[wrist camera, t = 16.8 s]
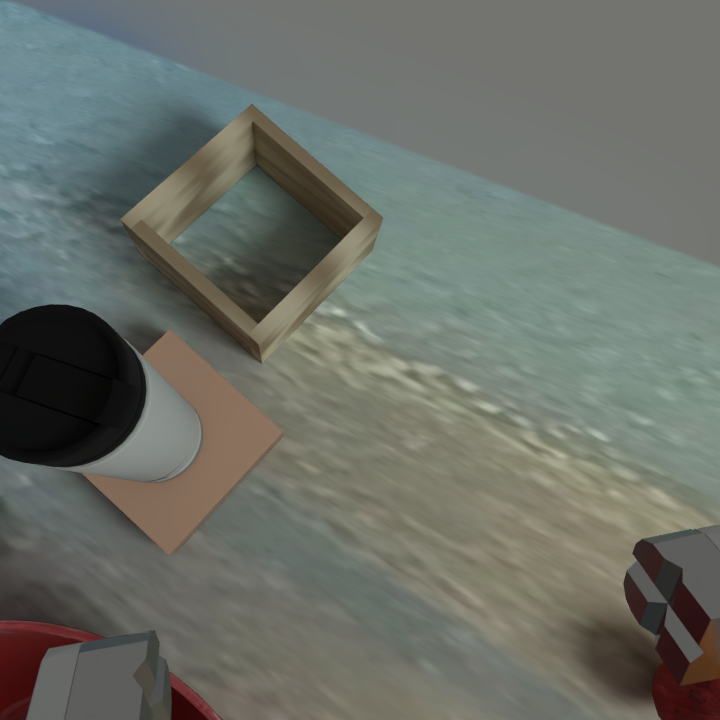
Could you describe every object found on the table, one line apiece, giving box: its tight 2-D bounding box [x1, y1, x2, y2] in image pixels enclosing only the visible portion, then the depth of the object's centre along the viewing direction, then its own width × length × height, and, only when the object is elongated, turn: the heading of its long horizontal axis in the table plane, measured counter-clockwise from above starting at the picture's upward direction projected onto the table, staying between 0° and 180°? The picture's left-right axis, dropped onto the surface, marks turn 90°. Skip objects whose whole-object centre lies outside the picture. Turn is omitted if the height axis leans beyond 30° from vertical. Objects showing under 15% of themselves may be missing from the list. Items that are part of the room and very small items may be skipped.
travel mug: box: [0, 304, 203, 483], centre depth 32 cm, size 6×7×20 cm
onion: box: [652, 662, 720, 720], centre depth 41 cm, size 6×6×8 cm
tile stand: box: [82, 329, 283, 555], centre depth 43 cm, size 11×11×3 cm
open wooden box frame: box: [120, 104, 383, 363], centre depth 46 cm, size 13×13×6 cm
